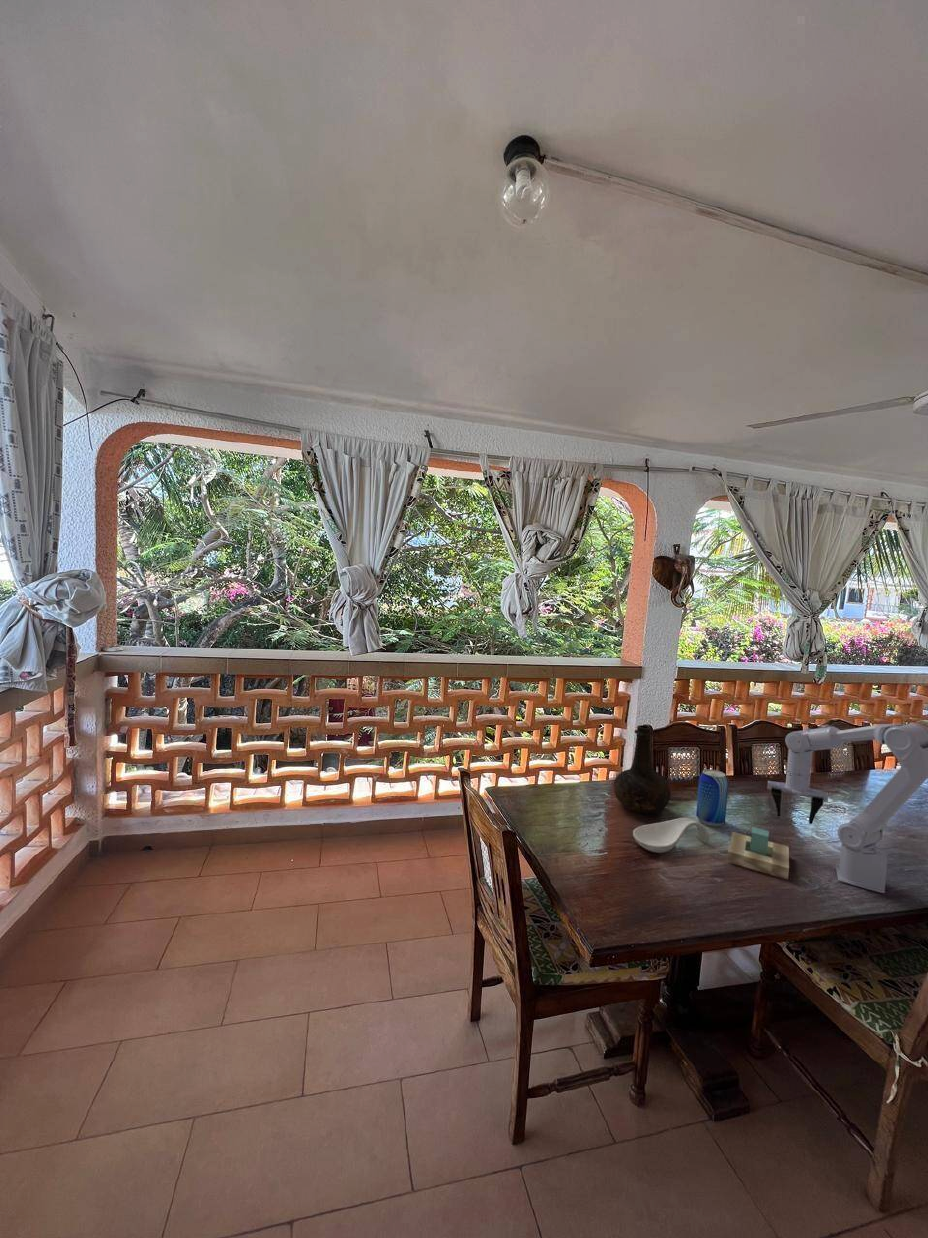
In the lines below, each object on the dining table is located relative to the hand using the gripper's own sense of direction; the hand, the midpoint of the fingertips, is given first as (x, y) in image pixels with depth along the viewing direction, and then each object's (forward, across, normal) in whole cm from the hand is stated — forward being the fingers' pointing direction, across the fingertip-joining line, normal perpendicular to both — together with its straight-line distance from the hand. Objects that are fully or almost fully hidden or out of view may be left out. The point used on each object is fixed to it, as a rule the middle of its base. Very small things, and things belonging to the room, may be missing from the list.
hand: (794, 819), depth 147 cm
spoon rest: (+10, -30, -18) cm, 36 cm away
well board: (+9, -8, -12) cm, 17 cm away
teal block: (+9, -8, -12) cm, 17 cm away
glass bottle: (+10, -43, +2) cm, 44 cm away
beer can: (+10, -22, +6) cm, 25 cm away
